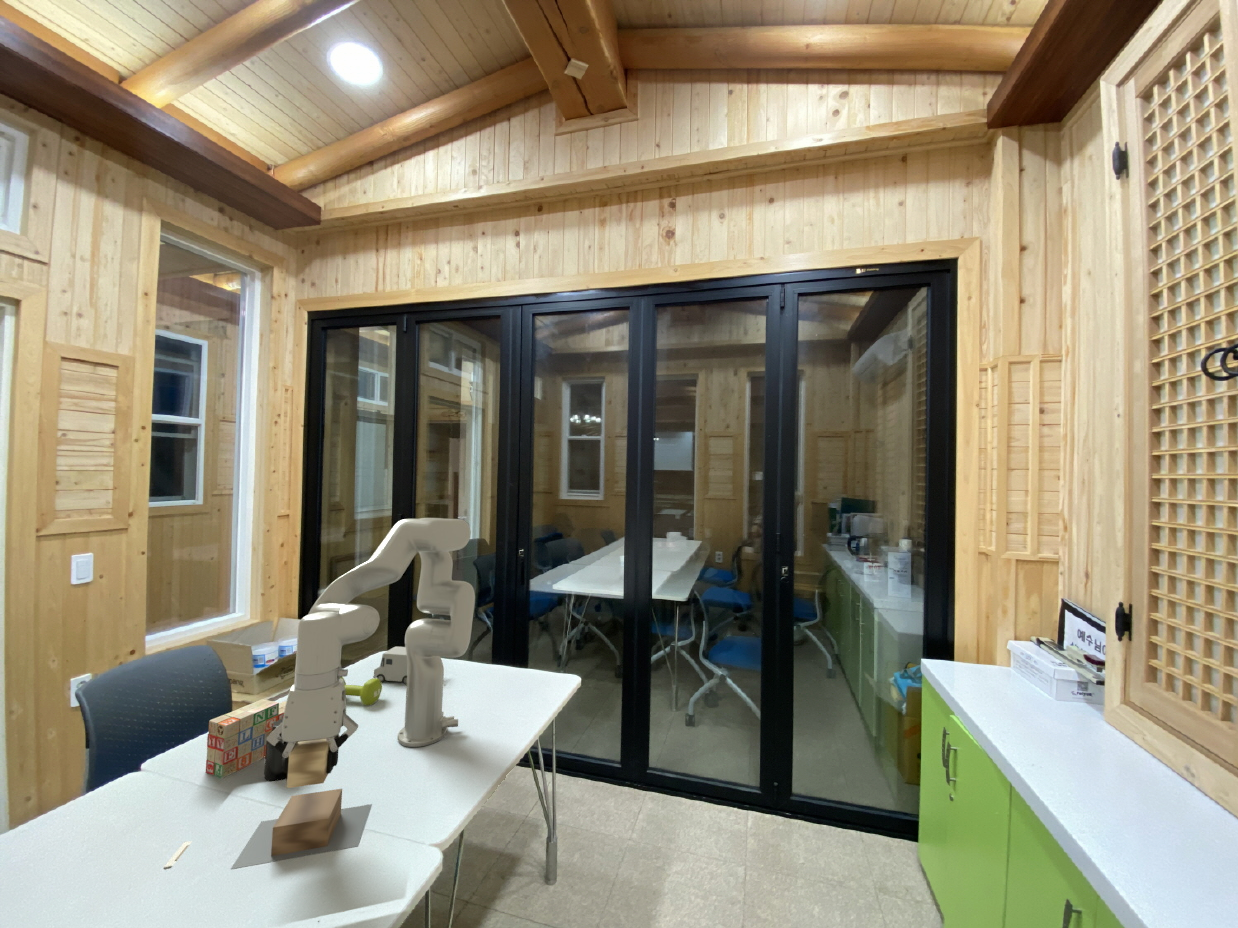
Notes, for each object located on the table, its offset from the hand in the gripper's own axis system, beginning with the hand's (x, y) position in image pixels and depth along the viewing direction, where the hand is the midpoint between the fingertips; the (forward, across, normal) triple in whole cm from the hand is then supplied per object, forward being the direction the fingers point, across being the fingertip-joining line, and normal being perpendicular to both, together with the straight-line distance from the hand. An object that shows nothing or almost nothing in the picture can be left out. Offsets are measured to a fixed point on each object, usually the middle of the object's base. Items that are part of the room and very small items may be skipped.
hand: (311, 771), depth 90 cm
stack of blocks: (+13, +21, -37) cm, 45 cm away
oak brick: (+1, 0, 0) cm, 1 cm away
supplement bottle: (+13, +13, -25) cm, 31 cm away
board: (+13, 0, 0) cm, 13 cm away
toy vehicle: (+13, -6, -77) cm, 78 cm away
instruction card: (+13, +18, -2) cm, 22 cm away
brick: (+12, 0, 0) cm, 12 cm away
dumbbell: (+13, +6, -62) cm, 64 cm away
